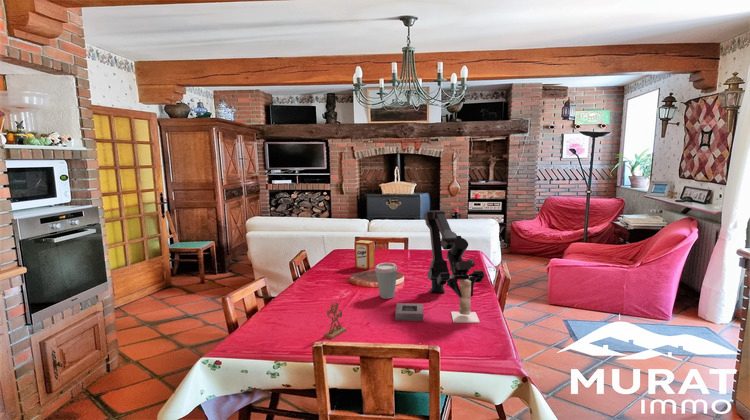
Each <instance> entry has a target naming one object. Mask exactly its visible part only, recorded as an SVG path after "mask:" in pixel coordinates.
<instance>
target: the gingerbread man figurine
mask: <svg viewBox="0 0 750 420" xmlns="http://www.w3.org/2000/svg"><path fill="white" fill-rule="evenodd" d="M338 311H339V313H337V312H338ZM331 314H332V315H333V316H330V315H331ZM326 316H327V317H328V318H330V319H331V324H330V327H329V331H327V332H326V333H324V334H323V338H326V339H329V340H333V339H335V338H336V337H338V336H340V335H342V334H343V333H345V332H346V331H347V327H345V326H342V325H341V323H340V320H339V319H340V318H342V317H343V312H342V310H341V309H339V303H338V302H337V301H333V302H331V305H330V309H328V310H327V311H326ZM335 322H337V323H335ZM337 324H338V325H337Z"/></svg>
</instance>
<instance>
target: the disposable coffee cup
mask: <svg viewBox="0 0 750 420" xmlns="http://www.w3.org/2000/svg"><path fill="white" fill-rule="evenodd" d="M374 272H375V274H376V280H377V281H376V282H377V285H378V287H377V288H378V293H379V296H380V299H381V298H382V299H392V298H394V297H395V293H396V292H395V291H396V284H397V274H398V266H397V264H396V263H393V262H382V263H378V264H377V265H375V268H374Z"/></svg>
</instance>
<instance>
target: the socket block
mask: <svg viewBox="0 0 750 420" xmlns="http://www.w3.org/2000/svg"><path fill="white" fill-rule="evenodd" d="M394 313H395V321H404V322H407V321H409V322H413V321H414V322H424V317H425V316H424V315H425V314H424V303H407V302H406V303H402V302H401V303H400V302H397V303H396V307H395V312H394Z"/></svg>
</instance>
